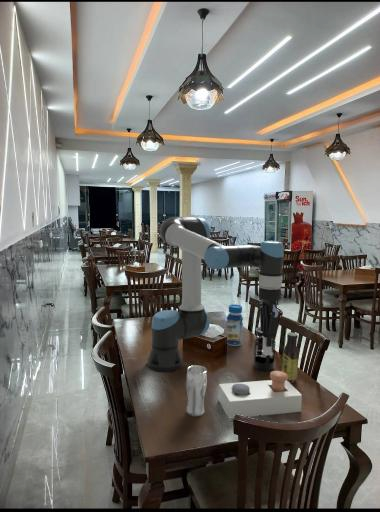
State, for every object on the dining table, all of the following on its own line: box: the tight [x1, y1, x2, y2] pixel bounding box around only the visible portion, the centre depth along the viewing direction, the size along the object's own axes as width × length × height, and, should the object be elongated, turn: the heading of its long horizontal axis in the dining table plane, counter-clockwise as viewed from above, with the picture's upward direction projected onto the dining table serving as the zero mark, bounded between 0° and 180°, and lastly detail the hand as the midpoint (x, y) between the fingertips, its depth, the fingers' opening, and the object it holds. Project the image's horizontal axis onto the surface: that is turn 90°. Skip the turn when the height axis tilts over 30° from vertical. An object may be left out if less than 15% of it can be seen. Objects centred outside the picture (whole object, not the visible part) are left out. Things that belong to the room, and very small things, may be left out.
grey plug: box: [232, 384, 250, 396], centre depth 124 cm, size 6×6×6 cm
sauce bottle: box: [281, 331, 300, 384], centre depth 145 cm, size 6×6×20 cm
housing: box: [217, 379, 303, 419], centre depth 126 cm, size 26×12×6 cm, turn 102°
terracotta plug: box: [269, 370, 288, 392], centre depth 127 cm, size 6×6×6 cm
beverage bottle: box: [225, 303, 244, 347], centre depth 184 cm, size 8×8×20 cm
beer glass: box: [185, 364, 208, 417], centre depth 121 cm, size 7×7×15 cm
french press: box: [252, 326, 277, 372], centre depth 157 cm, size 12×9×23 cm
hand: (266, 354), depth 124 cm, fingers closed
